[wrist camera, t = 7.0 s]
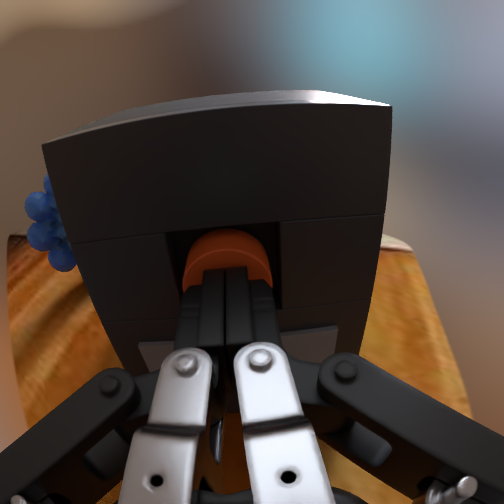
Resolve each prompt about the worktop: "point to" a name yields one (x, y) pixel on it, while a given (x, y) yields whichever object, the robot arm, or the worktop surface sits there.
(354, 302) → the push button control box
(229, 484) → the worktop surface
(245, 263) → the power button
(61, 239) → the grapes
